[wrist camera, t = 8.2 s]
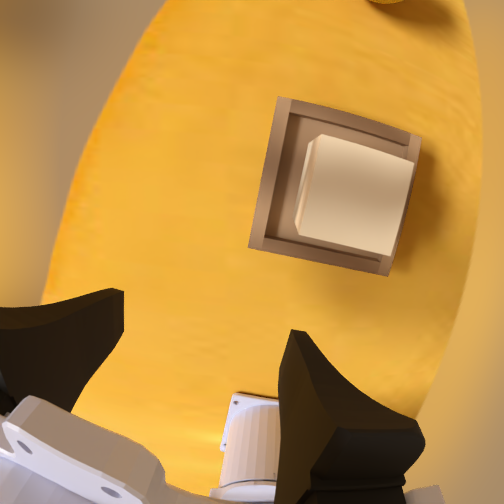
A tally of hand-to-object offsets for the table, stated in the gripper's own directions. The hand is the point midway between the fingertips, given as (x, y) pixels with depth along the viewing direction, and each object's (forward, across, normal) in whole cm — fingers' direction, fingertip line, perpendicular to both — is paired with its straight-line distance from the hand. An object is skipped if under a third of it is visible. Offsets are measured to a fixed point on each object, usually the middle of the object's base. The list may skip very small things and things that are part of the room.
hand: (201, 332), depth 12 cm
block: (+8, -6, -6) cm, 11 cm away
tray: (+10, -6, -6) cm, 13 cm away
